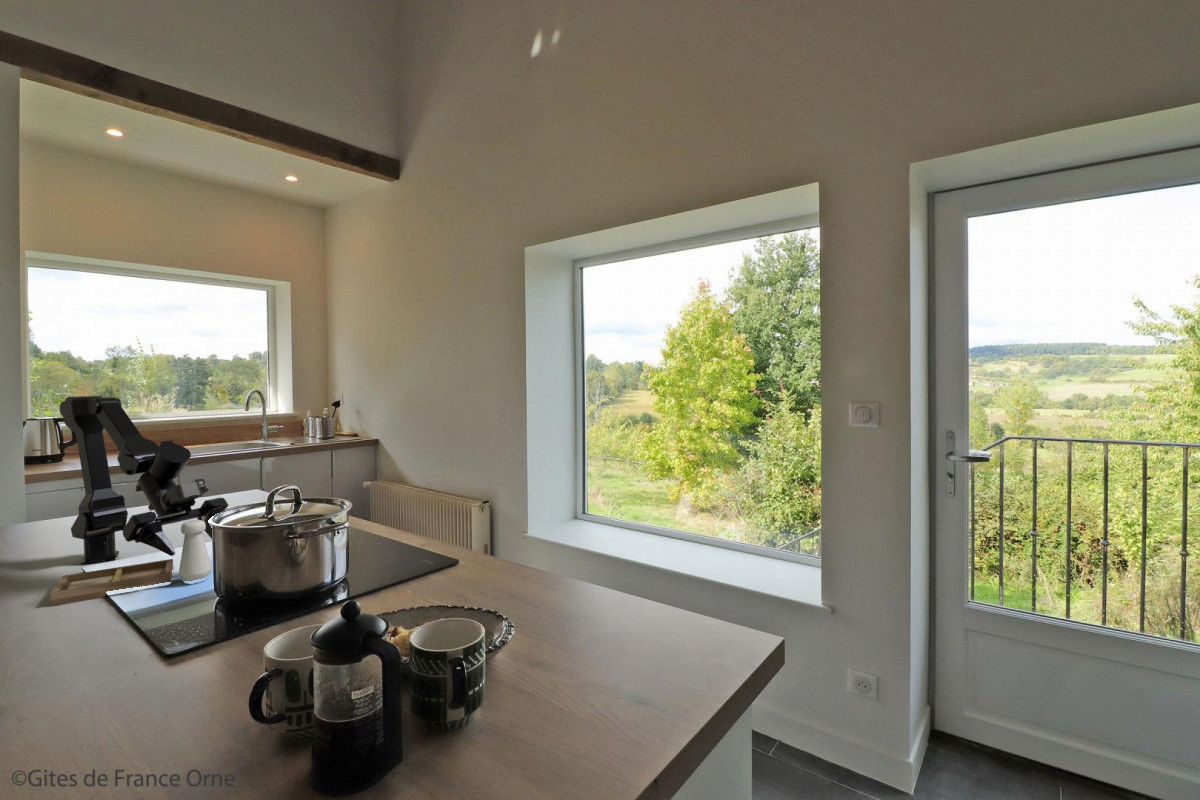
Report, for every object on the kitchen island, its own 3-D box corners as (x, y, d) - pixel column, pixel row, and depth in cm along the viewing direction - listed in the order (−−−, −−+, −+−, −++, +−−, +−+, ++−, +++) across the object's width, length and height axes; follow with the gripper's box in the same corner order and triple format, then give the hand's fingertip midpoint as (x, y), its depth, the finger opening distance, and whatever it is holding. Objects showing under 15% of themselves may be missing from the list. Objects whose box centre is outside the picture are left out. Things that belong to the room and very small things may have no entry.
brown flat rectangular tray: (63, 586, 119) (63, 575, 119) (173, 569, 129) (172, 558, 129) (51, 606, 109) (50, 594, 109) (170, 585, 120) (170, 574, 119)
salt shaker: (218, 576, 125) (216, 518, 124) (197, 586, 119) (195, 525, 118) (194, 575, 125) (191, 517, 124) (172, 585, 119) (169, 524, 119)
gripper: (127, 476, 114) (163, 536, 110) (221, 462, 131) (255, 514, 127) (107, 511, 118) (141, 571, 114) (201, 493, 135) (233, 544, 131)
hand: (196, 548), depth 121 cm, fingers open, 9 cm apart
